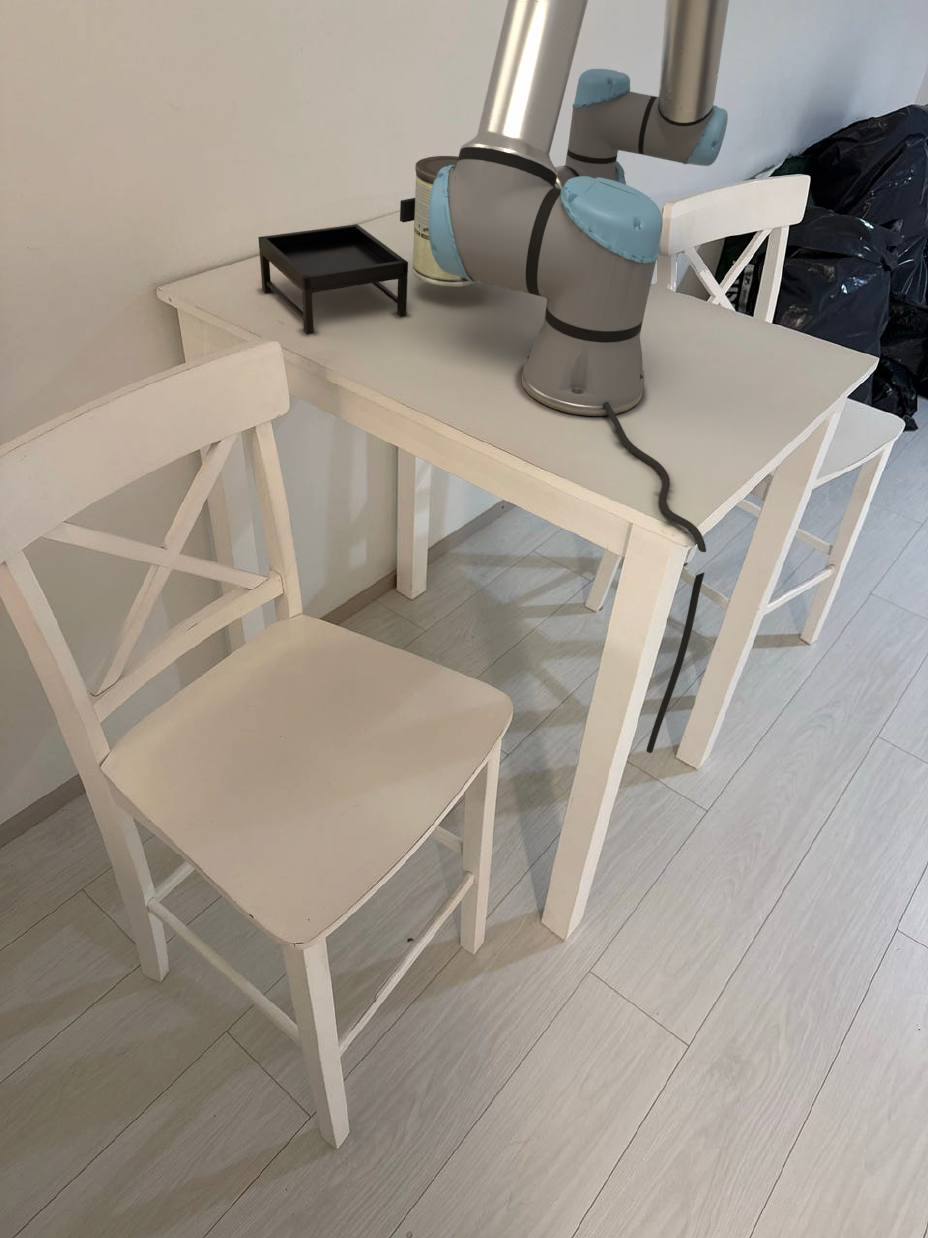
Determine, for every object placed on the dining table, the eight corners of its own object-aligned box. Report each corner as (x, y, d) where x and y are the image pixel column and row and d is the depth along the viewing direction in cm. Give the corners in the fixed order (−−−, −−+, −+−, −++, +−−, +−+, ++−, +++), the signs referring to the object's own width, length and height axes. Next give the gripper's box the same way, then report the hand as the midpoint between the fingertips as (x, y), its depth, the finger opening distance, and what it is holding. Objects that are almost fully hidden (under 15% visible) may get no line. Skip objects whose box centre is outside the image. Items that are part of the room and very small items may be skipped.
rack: (406, 315, 126) (408, 261, 121) (306, 334, 119) (304, 277, 114) (357, 275, 135) (357, 223, 130) (262, 290, 128) (258, 236, 123)
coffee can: (416, 255, 133) (420, 151, 124) (485, 263, 133) (495, 160, 124) (406, 282, 125) (410, 173, 116) (480, 291, 125) (490, 182, 116)
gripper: (594, 248, 130) (481, 279, 119) (487, 202, 142) (375, 226, 130) (603, 193, 125) (486, 220, 114) (492, 150, 137) (375, 170, 125)
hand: (426, 223), depth 122 cm, fingers closed on coffee can, 10 cm apart
